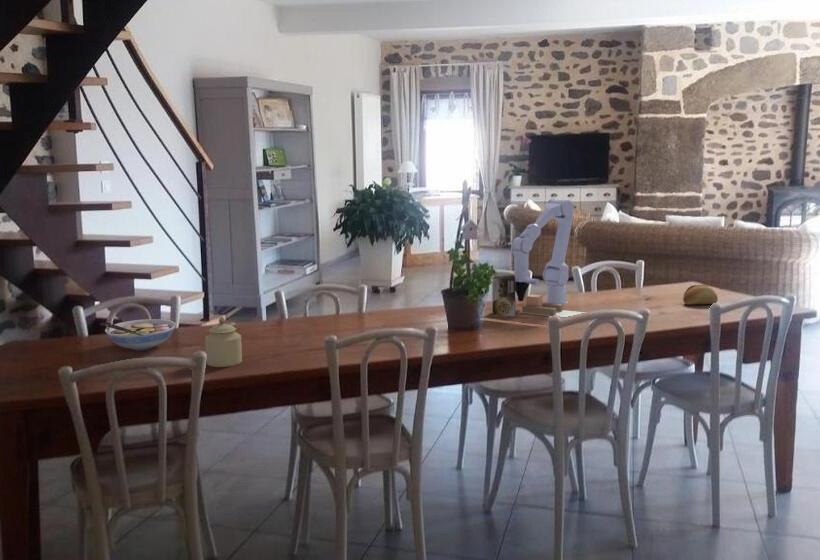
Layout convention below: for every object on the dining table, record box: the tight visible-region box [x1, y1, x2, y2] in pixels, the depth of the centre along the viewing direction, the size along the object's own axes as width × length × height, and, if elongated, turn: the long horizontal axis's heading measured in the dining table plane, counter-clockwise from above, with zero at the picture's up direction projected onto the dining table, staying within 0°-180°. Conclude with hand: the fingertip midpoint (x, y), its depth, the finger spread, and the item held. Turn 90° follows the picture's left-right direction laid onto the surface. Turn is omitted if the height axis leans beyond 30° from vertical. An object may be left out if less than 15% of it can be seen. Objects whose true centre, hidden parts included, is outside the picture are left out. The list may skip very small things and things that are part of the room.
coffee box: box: [491, 274, 517, 317], centre depth 294 cm, size 9×6×16 cm
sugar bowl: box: [204, 315, 243, 368], centre depth 238 cm, size 15×11×15 cm
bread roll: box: [682, 284, 719, 306], centre depth 313 cm, size 10×15×8 cm, turn 104°
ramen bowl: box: [99, 318, 176, 351], centre depth 256 cm, size 25×23×8 cm
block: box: [525, 294, 544, 307], centre depth 300 cm, size 4×5×6 cm
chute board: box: [521, 301, 586, 318], centre depth 296 cm, size 12×24×4 cm, turn 59°
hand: (520, 300), depth 303 cm, fingers closed
